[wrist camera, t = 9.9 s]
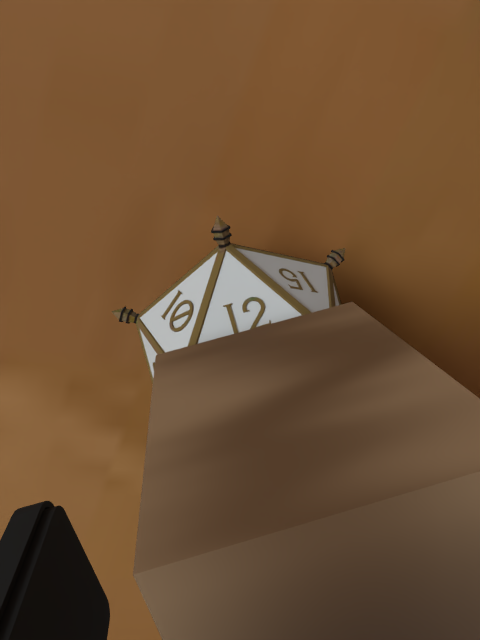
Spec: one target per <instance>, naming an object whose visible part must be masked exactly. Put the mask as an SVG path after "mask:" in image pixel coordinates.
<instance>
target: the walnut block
mask: <svg viewBox="0 0 480 640" xmlns="http://www.w3.org/2000/svg"><path fill="white" fill-rule="evenodd" d="M133 576H134V578H135V580H136V582H137V585H138V587H139V589H140V591H141V593H142V596H143V598H144V600H145V602H146V604H147V607H148V609H149V611H150V613H151V615H152V618H153V620H154V622H155V624H156V626H157V629H158V631H159V633H160V635H161V638H162V640H480V399H479V398H478V397H477V396H476V395H474V394H473V393H472V392H470V391H469V390H468V389H466V388H465V387H464V386H462V385H461V384H460V383H458V382H457V381H456V380H455V379H453V378H452V377H451V376H449V375H448V374H447V373H445V372H444V371H443V370H441V369H440V368H439V367H437V366H436V365H435V364H434V363H432V362H431V361H430V360H428V359H427V358H426V357H424V356H423V355H422V354H420V353H419V352H418V351H416V350H415V349H414V348H413V347H411V346H410V345H409V344H407V343H406V342H405V341H403V340H402V339H401V338H399V337H398V336H397V335H395V334H394V333H393V332H392V331H390V330H389V329H388V328H386V327H385V326H384V325H382V324H381V323H380V322H378V321H377V320H376V319H374V318H373V317H372V316H371V315H369V314H368V313H367V312H365V311H364V310H363V309H361V308H360V307H359V306H357V305H356V304H355V303H353V302H349V303H345V304H342V305H338V306H334V307H331V308H327V309H323V310H320V311H316V312H312V313H309V314H305V315H301V316H298V317H294V318H290V319H287V320H283V321H279V322H276V323H272V324H268V325H264V326H261V327H257V328H253V329H250V330H246V331H242V332H239V333H235V334H231V335H228V336H224V337H220V338H217V339H213V340H209V341H206V342H202V343H198V344H195V345H191V346H187V347H184V348H180V349H176V350H173V351H169V352H165V353H162V354H158V355H156V358H155V368H154V378H153V387H152V397H151V407H150V416H149V426H148V435H147V445H146V455H145V464H144V474H143V484H142V493H141V503H140V513H139V522H138V532H137V542H136V551H135V561H134V571H133Z"/></svg>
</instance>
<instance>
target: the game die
mask: <svg viewBox="0 0 480 640" xmlns="http://www.w3.org/2000/svg"><path fill="white" fill-rule="evenodd" d="M229 229H230V226H228V225H226V224H225V223H224V222H223V221H222V220H221V219H220V218H219V217H218V216H217V218H216V221H215V225H214V227H213V228H212V231H211V233H214V238H213V239H214V240H216V241H217V243H218V244H219V246H217V247H216V248H215V249H214V250H213V251H212V252H211V253H209V254H208V255H207V256H206V257H205V258H204V259H202V260H201V261H200V262H199V263H198V264H197V265H195V266H194V267H193V268H192V269H191V270H190V271H189V272H187V273H186V274H185V275H184V276H183V277H182V278H180V279H179V280H178V281H177V282H176V283H175V284H174V285H172V286H171V287H170V288H169V289H168V290H167V291H165V292H164V293H163V294H162V295H161V296H160V297H158V298H157V299H156V300H155V301H154V302H153V303H152V304H150V305H149V306H148V307H147V308H146V309H145V310H143V311H142V312H141V313H140V314H136V313H135V312H133V309H131V310H129V309H126V307H124V308H122V309H119V310H116V311H112V313H113V314H114V315H115V316H116V317H117V318H118V319H119V322H123V321H125V322H126V323H130V322H134V323H136V326H137V329H138V333H139V336H140V340H141V344H142V347H143V351H144V355H145V358H146V362H147V365H148V369H149V373H150V376H151V380H152V384H153V378H154V368H155V358H156V355H158V354H162V353H165V352H169V351H173V350H176V349H180V348H184V347H187V346H191V345H195V344H198V343H202V342H206V341H209V340H213V339H217V338H220V337H224V336H228V335H231V334H235V333H239V332H242V331H246V330H250V329H253V328H257V327H261V326H264V325H268V324H272V323H276V322H279V321H283V320H287V319H290V318H294V317H298V316H301V315H305V314H309V313H312V312H316V311H320V310H323V309H327V308H331V307H334V306H338V305H341V301H340V298H339V294H338V291H337V287H336V283H335V280H334V276H333V272H332V269H333V267H335V266H336V267H337V266H339V265H340V264H339V263H340V262H342V261H344V253H345V248H343V249H339V250H335V251H333V250H332V251H331V252H332V253H331V254H330V255H328V256H327V261H326V262H325V263H319V262H315V261H310V260H305V259H301V258H296V257H292V256H287V255H282V254H278V253H273V252H268V251H264V250H259V249H255V248H250V247H245V246H241V245H236V244H231V243H230V242H229V240H230V236H232V235H231V233H229Z"/></svg>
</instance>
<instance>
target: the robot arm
mask: <svg viewBox="0 0 480 640" xmlns="http://www.w3.org/2000/svg"><path fill="white" fill-rule="evenodd" d="M109 620H110V609H109V603H108V600H107V597H106V595H105V593H104V591H103V589H102V587H101V585H100V583H99V580H98V578H97V576H96V574H95V572H94V570H93V568H92V566H91V564H90V562H89V560H88V558H87V556H86V554H85V552H84V550H83V547H82V545H81V543H80V541H79V539H78V537H77V535H76V533H75V531H74V529H73V527H72V525H71V523H70V521H69V519H68V517H67V514H66V512H65V510H64V509H63V507H61V506H56V507H54V505H53V503H51V502H50V501H44V502H41V503H37V504H34V505H30V506H26V507H23V508H19V509H17V510H16V511H15V512H14V513H13V515H12V517H11V519H10V521H9V523H8V525H7V528H6V530H5V532H4V534H3V536H2V538H1V540H0V640H107V634H108V628H109Z"/></svg>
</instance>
